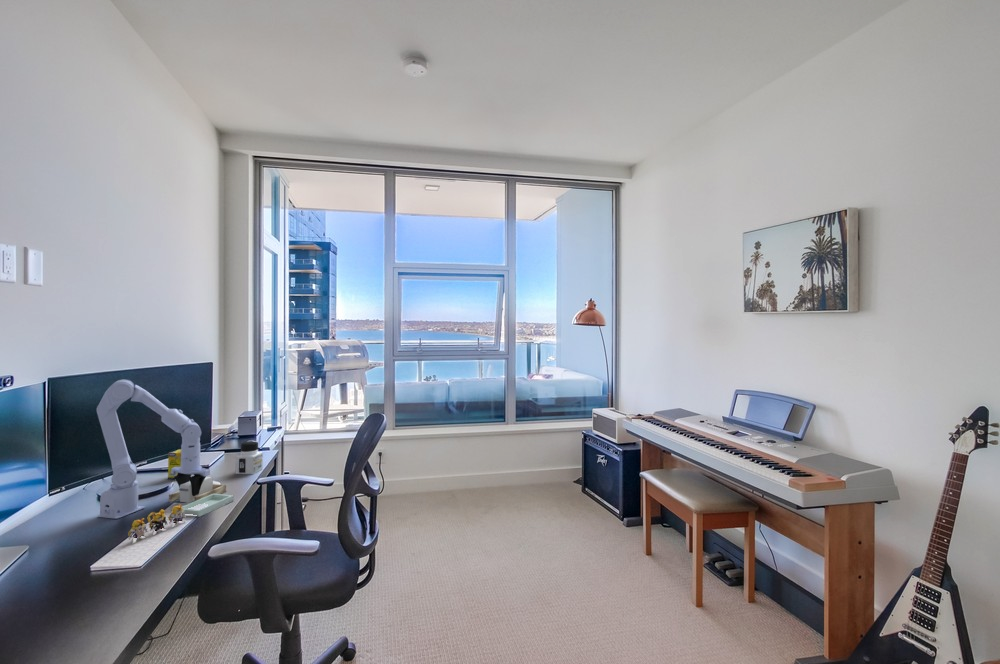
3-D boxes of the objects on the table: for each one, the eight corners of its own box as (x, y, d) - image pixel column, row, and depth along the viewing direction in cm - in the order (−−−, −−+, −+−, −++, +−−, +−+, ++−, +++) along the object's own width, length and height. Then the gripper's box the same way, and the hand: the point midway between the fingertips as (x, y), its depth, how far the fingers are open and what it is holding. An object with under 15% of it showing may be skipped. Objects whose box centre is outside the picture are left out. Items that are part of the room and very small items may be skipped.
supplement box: (181, 479, 185) (182, 453, 185) (167, 479, 185) (167, 452, 185) (192, 475, 190) (192, 449, 191) (178, 474, 191) (178, 449, 191)
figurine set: (124, 543, 129) (124, 520, 130) (180, 521, 145) (180, 500, 145) (132, 545, 128) (132, 522, 128) (188, 522, 144) (188, 502, 144)
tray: (198, 517, 148) (198, 511, 148) (176, 514, 149) (176, 508, 149) (233, 501, 162) (233, 495, 162) (213, 499, 164) (213, 493, 164)
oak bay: (196, 504, 158) (196, 497, 158) (168, 501, 161) (168, 494, 161) (226, 491, 171) (226, 485, 171) (200, 489, 174) (200, 482, 174)
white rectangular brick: (187, 503, 159) (187, 486, 159) (178, 502, 160) (178, 485, 160) (212, 492, 170) (212, 477, 170) (203, 492, 170) (203, 476, 170)
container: (253, 474, 192) (253, 444, 192) (235, 474, 192) (235, 443, 192) (262, 469, 200) (263, 439, 200) (245, 468, 200) (245, 439, 200)
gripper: (216, 455, 165) (216, 492, 165) (183, 452, 168) (183, 489, 168) (200, 460, 158) (200, 499, 158) (166, 457, 161) (165, 495, 161)
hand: (190, 494), depth 163 cm, fingers closed on white rectangular brick, 4 cm apart
